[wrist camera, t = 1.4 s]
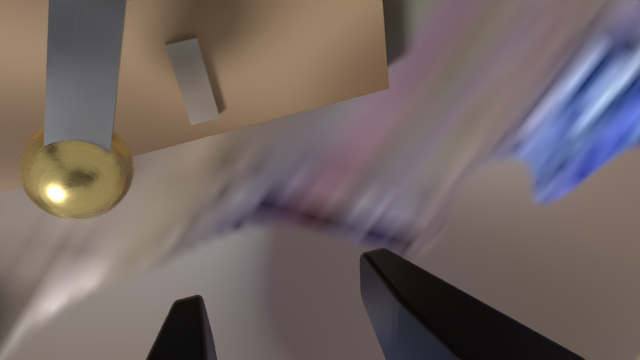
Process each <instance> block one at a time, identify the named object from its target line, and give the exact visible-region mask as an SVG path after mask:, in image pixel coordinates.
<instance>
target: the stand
mask: <svg viewBox="0 0 640 360" xmlns="http://www.w3.org/2000/svg"><path fill="white" fill-rule="evenodd" d="M48 8H49V0H0V191H4V190H7V189H11V188H15V187H19V186H22V184H21V182H20V178H19V170H18V165H19V158H20V154H21V151H22V149H23V147H24V145H25V143H26V142H27V140H28V139H29V138H30V136H31V135H32V134H33V133H34V132H35V131H37V130H38V129H39V128H40V127H42V126H44V118H45V91H46V63H47V36H48ZM385 89H389V82H388V68H387V55H386V41H385V28H384V15H383V1H382V0H127V3H126V13H125V23H124V33H123V43H122V53H121V63H120V73H119V83H118V93H117V102H116V112H115V122H114V130H115V131H116V132H117V133H118V134H119V135H120V136H121V137H122V138H123V139H124V141H125V142H126V144H127V145H128V147H129V150H130V152H131V154H132V156H136V155H140V154H143V153H147V152H151V151H155V150H158V149H162V148H166V147H170V146H174V145H177V144H181V143H185V142H189V141H192V140H196V139H200V138H204V137H208V136H211V135H215V134H219V133H223V132H226V131H230V130H234V129H238V128H242V127H245V126H249V125H253V124H257V123H260V122H264V121H268V120H272V119H275V118H279V117H283V116H287V115H291V114H294V113H298V112H302V111H306V110H309V109H313V108H317V107H321V106H325V105H328V104H332V103H336V102H340V101H343V100H347V99H351V98H355V97H359V96H362V95H366V94H370V93H374V92H377V91H381V90H385Z"/></svg>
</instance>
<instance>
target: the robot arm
mask: <svg viewBox="0 0 640 360" xmlns="http://www.w3.org/2000/svg"><path fill="white" fill-rule="evenodd" d="M360 287H361V288H360V289H361V296H362V300H363V303H364V306H365V308H366V311H367V313H368V316H369V319H370V321H371V324H372V326H373V329H374V331H375V334H376V336H377V339H378V341H379V344H380V346H381V349H382V351H383V354H384V356H385V359H386V360H585V359H584V358H582V357H581V356H579V355H577V354H575V353H574V352H572V351H570V350H568V349H566V348H565V347H563V346H561V345H559V344H557V343H555V342H554V341H552V340H550V339H548V338H547V337H545V336H543V335H541V334H539V333H537V332H536V331H534V330H532V329H530V328H529V327H527V326H525V325H523V324H521V323H520V322H518V321H516V320H514V319H512V318H511V317H509V316H507V315H505V314H503V313H502V312H500V311H498V310H496V309H494V308H492V307H490V306H489V305H487V304H485V303H483V302H482V301H480V300H478V299H476V298H474V297H473V296H471V295H469V294H467V293H465V292H464V291H462V290H460V289H458V288H456V287H455V286H453V285H451V284H449V283H447V282H445V281H444V280H442V279H440V278H438V277H437V276H434V275H433V274H431V273H429V272H428V271H426V270H424V269H422V268H420V267H419V266H417V265H415V264H413V263H411V262H410V261H408V260H406V259H404V258H402V257H401V256H399V255H397V254H395V253H393V252H392V251H390V250H388V249H385V248H379V249H375V250H371V251H367V252H364V253H363V254H362V255H361V257H360ZM146 360H217V356H216V351H215V345H214V340H213V335H212V331H211V327H210V324H209V319H208V316H207V312H206V308H205V304H204V300H203V298H202V296H200V295H195V296H191V297H187V298H183V299H179V300H176V301H175V302H174V303H173V305H172V306H171V309H170V311H169V313H168V315H167V317H166V319H165V322H164V323H163V325H162V327H161V330H160V331H159V333H158V336H157V338H156V340H155V342H154V344H153V346H152V348H151V350H150V352H149V354H148V356H147V359H146Z"/></svg>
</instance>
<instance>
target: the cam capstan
mask: <svg viewBox="0 0 640 360" xmlns="http://www.w3.org/2000/svg"><path fill="white" fill-rule="evenodd" d="M126 3H127V0H49V8H48V36H47V63H46V91H45V118H44V126H42V127H40V128H39V129H38V130H37V131H35V132H34V133H33V134H32V135H31V136H30V138H29V139H28V140H27V142H26V143H25V145H24V147H23V149H22V151H21V154H20V158H19V165H18V170H19V178H20V182H21V184H22V187H23V189H24V191H25V193H26V194H27V196H28V197H29V198H30V199H31V201H32V202H33V203H34V204H35V205H37V206H38V207H39V208H40V209H42V210H43V211H45V212H47V213H49V214H51V215H53V216H56V217H60V218H64V219H71V220H83V219H90V218H94V217H97V216H100V215H102V214H104V213H106V212H108V211H110V210H111V209H113V208H114V207H115V206H117V205H118V204H119V203H120V202H121V201H122V200H123V198H124V197H125V196H126V194H127V192H128V190H129V188H130V186H131V183H132V180H133V175H134V164H133V158H132V154H131V152H130V150H129V147H128V145H127V144H126V142H125V141H124V139H123V138H122V137H121V136H120V135H119V134H118V133H117V132H116V131H115V130H114V122H115V112H116V102H117V93H118V83H119V73H120V63H121V53H122V43H123V33H124V23H125V13H126Z"/></svg>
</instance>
